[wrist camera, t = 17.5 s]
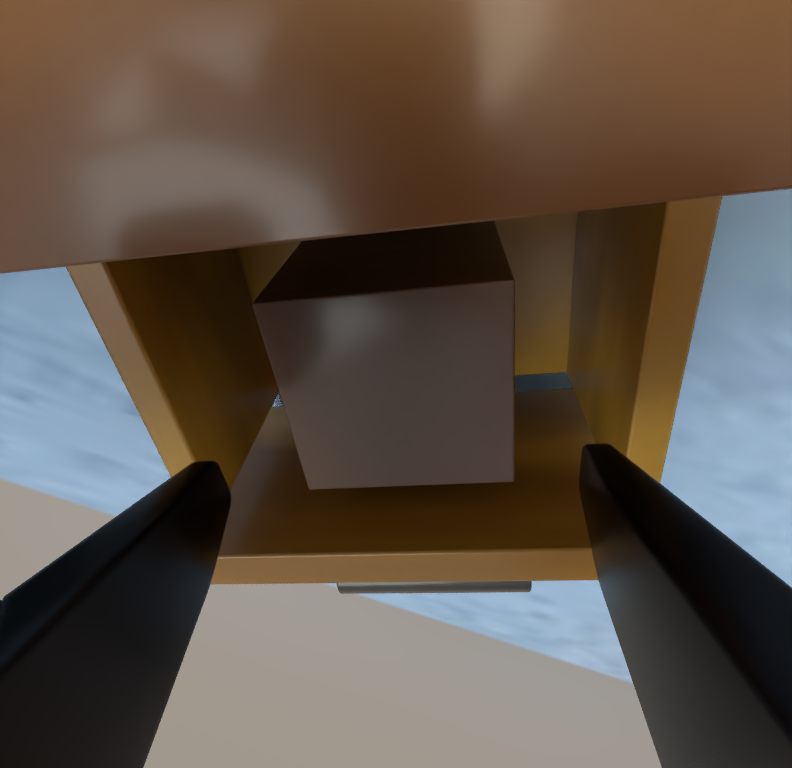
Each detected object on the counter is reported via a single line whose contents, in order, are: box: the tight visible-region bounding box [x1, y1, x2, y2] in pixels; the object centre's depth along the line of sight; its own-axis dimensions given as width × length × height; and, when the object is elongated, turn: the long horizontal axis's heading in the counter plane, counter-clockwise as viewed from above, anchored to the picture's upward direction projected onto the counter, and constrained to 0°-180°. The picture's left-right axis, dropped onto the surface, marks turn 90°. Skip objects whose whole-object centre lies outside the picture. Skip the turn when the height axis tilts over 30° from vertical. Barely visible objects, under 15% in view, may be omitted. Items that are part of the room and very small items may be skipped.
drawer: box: [66, 196, 722, 594], centre depth 13 cm, size 17×12×7 cm
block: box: [252, 221, 515, 490], centre depth 13 cm, size 5×5×5 cm
